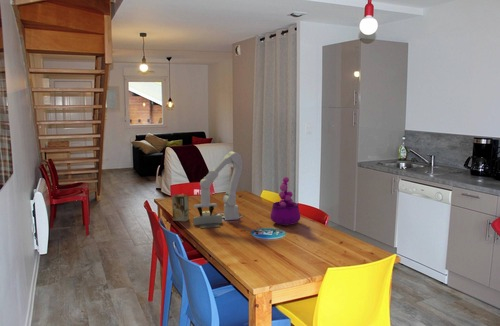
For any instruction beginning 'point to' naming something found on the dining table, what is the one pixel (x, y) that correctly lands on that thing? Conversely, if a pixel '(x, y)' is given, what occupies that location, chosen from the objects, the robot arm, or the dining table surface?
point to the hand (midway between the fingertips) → (205, 218)
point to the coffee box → (180, 207)
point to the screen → (207, 219)
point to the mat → (209, 225)
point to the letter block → (205, 213)
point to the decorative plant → (285, 207)
